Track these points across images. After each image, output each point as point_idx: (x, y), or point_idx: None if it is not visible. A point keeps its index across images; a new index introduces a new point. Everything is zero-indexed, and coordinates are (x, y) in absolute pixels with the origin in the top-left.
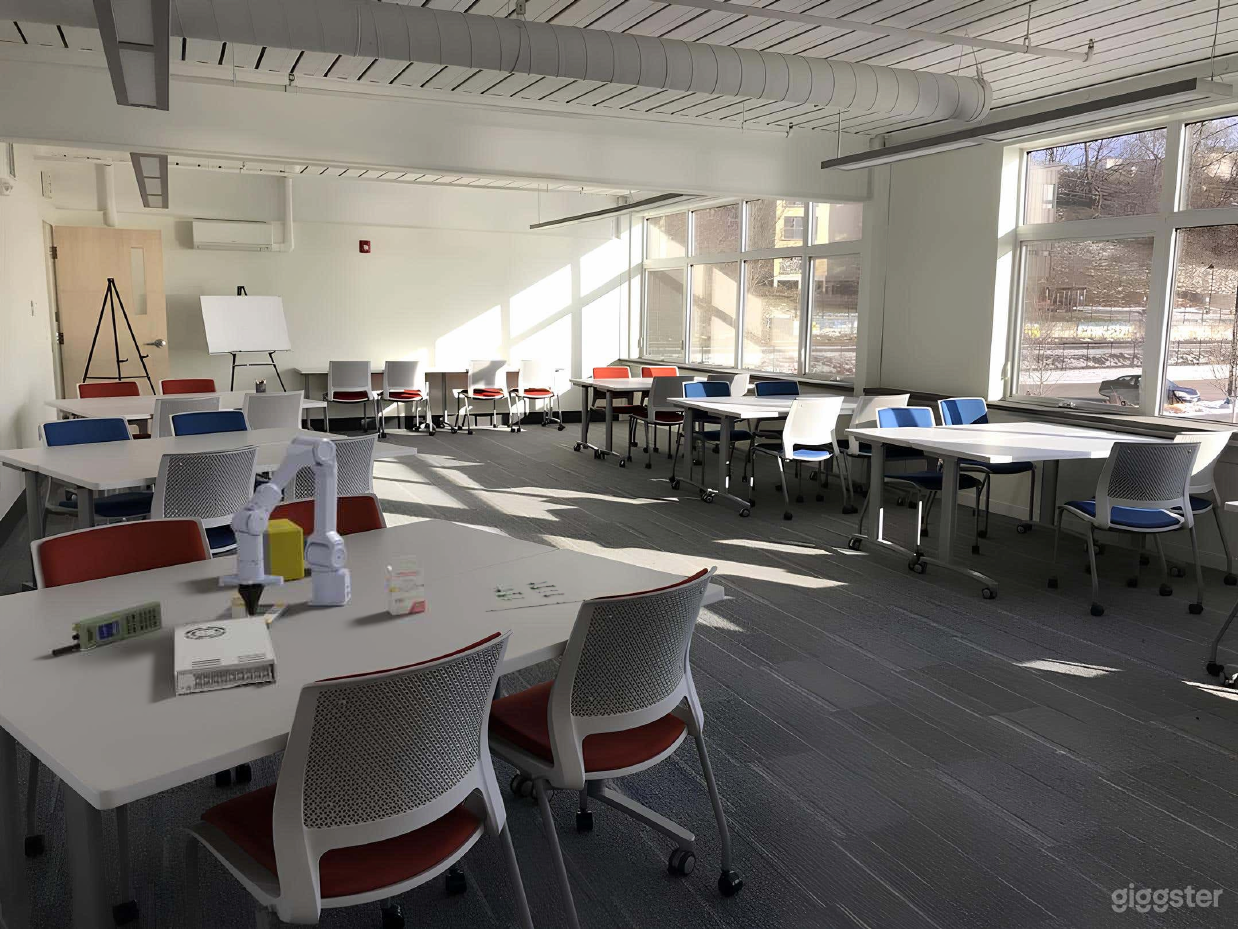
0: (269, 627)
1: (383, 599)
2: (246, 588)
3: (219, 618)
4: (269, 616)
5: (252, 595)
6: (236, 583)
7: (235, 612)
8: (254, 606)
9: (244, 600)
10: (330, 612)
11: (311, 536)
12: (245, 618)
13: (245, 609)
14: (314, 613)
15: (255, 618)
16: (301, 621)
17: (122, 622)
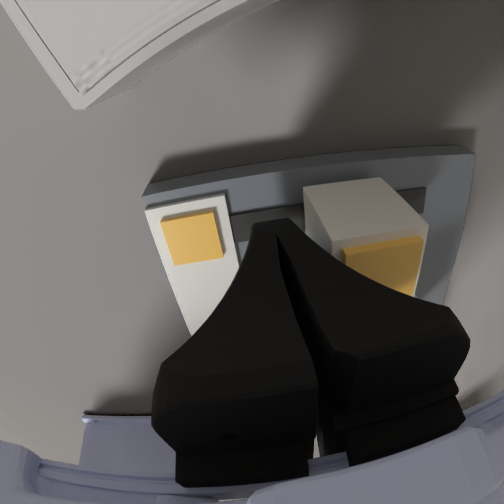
0: (148, 189)
1: (49, 434)
2: (365, 397)
3: (448, 229)
4: (206, 292)
5: (256, 323)
6: (486, 418)
7: (384, 205)
8: (243, 257)
9: (347, 273)
10: (69, 379)
11: None
12: (202, 4)
13: (323, 240)
14: (106, 372)
15: (108, 33)
16: (78, 301)
17: None
